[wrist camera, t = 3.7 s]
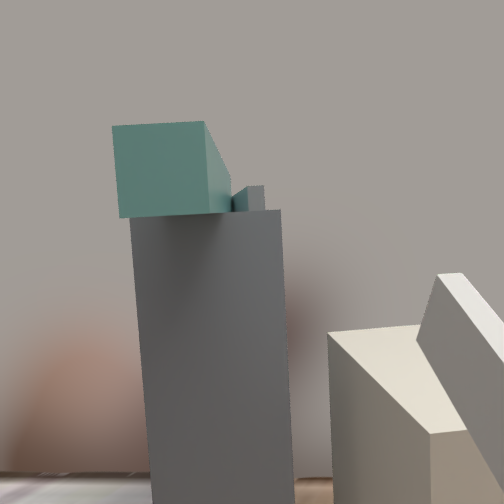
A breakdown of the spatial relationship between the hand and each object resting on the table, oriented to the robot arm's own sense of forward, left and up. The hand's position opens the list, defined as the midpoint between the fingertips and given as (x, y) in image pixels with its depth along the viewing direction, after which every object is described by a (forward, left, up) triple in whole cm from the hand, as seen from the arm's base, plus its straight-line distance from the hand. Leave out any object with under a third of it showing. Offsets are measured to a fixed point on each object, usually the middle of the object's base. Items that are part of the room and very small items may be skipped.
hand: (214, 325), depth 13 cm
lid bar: (0, +17, +3) cm, 18 cm away
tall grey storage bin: (0, +23, -27) cm, 35 cm away
